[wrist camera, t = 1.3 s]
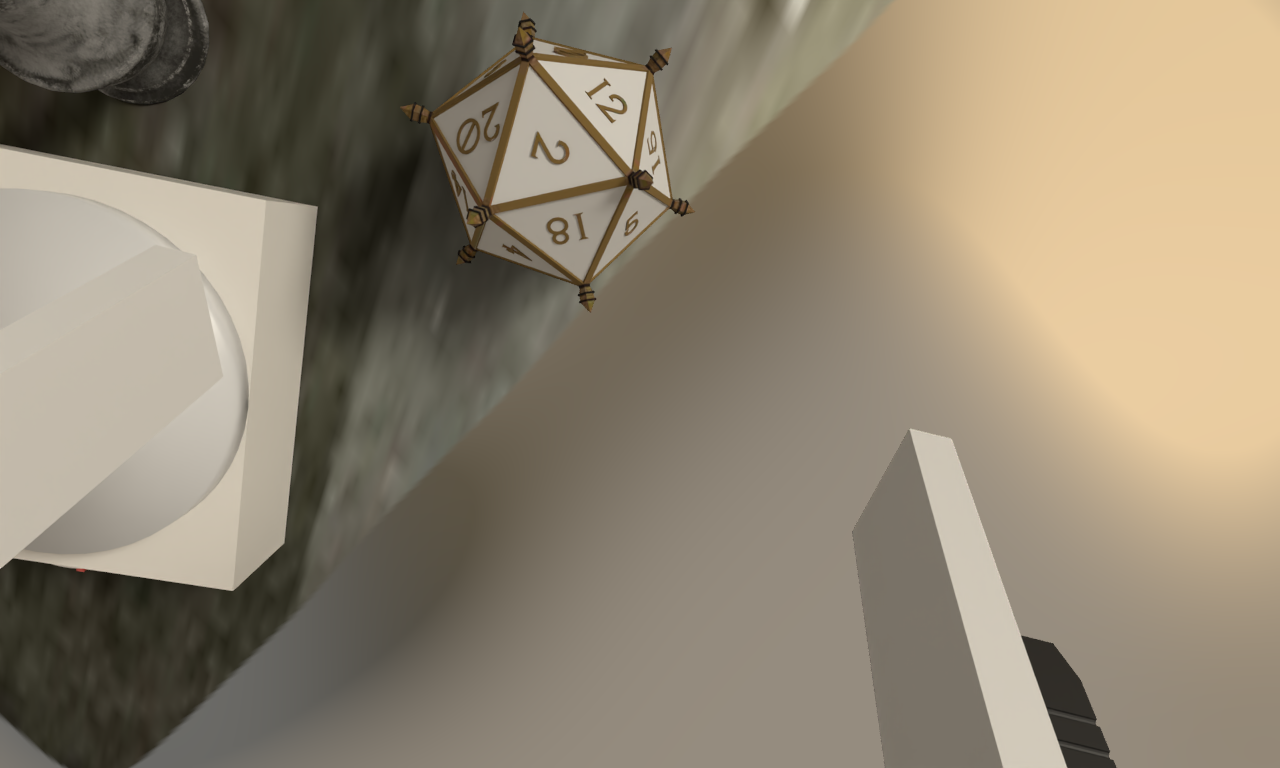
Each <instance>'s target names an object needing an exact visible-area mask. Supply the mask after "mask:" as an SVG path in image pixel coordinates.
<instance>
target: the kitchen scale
mask: <svg viewBox="0 0 1280 768" xmlns="http://www.w3.org/2000/svg"><path fill="white" fill-rule="evenodd" d="M317 209H318V207H317V206H312V205H307V204H302V203H297V202H292V201H287V200H282V199H277V198H271V197H266V196H261V195H256V194H251V193H246V192H241V191H236V190H231V189H226V188H221V187H216V186H211V185H206V184H200V183H195V182H190V181H185V180H180V179H175V178H170V177H165V176H160V175H155V174H150V173H145V172H140V171H135V170H130V169H124V168H119V167H114V166H109V165H104V164H99V163H94V162H89V161H84V160H79V159H74V158H69V157H64V156H59V155H53V154H48V153H43V152H38V151H33V150H28V149H23V148H18V147H13V146H8V145H3V144H0V330H1V329H3V328H5V327H7V326H9V325H10V324H12V323H14V322H16V321H18V320H19V319H21V318H23V317H25V316H27V315H29V314H30V313H32V312H34V311H36V310H38V309H40V308H41V307H43V306H45V305H47V304H49V303H50V302H52V301H54V300H56V299H58V298H60V297H61V296H63V295H65V294H67V293H69V292H70V291H72V290H74V289H76V288H78V287H80V286H81V285H83V284H85V283H87V282H89V281H91V280H92V279H94V278H96V277H98V276H100V275H101V274H103V273H105V272H107V271H109V270H111V269H112V268H114V267H116V266H118V265H120V264H121V263H123V262H125V261H127V260H129V259H131V258H132V257H134V256H136V255H138V254H140V253H142V252H143V251H145V250H147V249H149V248H151V247H152V246H154V245H158V246H162V247H166V248H170V249H174V250H179V251H183V252H187V253H191V254H195V255H196V256H197V260H198V265H199V269H200V274H201V278H202V283H203V287H204V292H205V296H206V301H207V305H208V310H209V314H210V319H211V323H212V328H213V332H214V337H215V341H216V346H217V350H218V355H219V359H220V364H221V368H222V373H223V378H221V379H220V380H219V381H218V382H217V383H216V384H214V385H213V386H212V387H211V388H210V389H209V390H207V391H206V392H205V393H204V394H203V395H202V396H200V397H199V398H198V399H197V400H196V401H195V402H193V403H192V404H191V405H190V406H189V407H188V408H187V409H185V410H184V411H183V412H182V413H181V414H180V415H178V416H177V417H176V418H175V419H174V420H173V421H171V422H170V423H169V424H168V425H167V426H166V427H164V428H163V429H162V430H161V431H160V432H159V433H157V434H156V435H155V436H154V437H153V438H152V439H150V440H149V441H148V442H147V443H146V444H145V445H144V446H142V447H141V448H140V449H139V450H138V451H137V452H135V453H134V454H133V455H132V456H131V457H130V458H128V459H127V460H126V461H125V462H124V463H123V464H121V465H120V466H119V467H118V468H117V469H116V470H114V471H113V472H112V473H111V474H110V475H109V476H108V477H106V478H105V479H104V480H103V481H102V482H101V483H99V484H98V485H97V486H96V487H95V488H94V489H92V490H91V491H90V492H89V493H88V494H87V495H85V496H84V497H83V498H82V499H81V500H80V501H78V502H77V503H76V504H75V505H74V506H73V507H72V508H70V509H69V510H68V511H67V512H66V513H65V514H63V515H62V516H61V517H60V518H59V519H58V520H56V521H55V522H54V523H53V524H52V525H51V526H49V527H48V528H47V529H46V530H45V531H44V532H42V533H41V534H40V535H39V536H38V537H37V538H35V539H34V540H33V541H32V542H31V543H30V544H29V545H27V546H26V547H25V548H24V549H23V550H22V551H20V552H19V553H18V554H17V555H16V556H15V557H13V558H15V559H22V560H29V561H36V562H42V563H49V564H53V565H57V566H61V567H66V568H77V570H76V571H81V572H84V571H86V570H87V569H89V570H96V571H103V572H110V573H116V574H123V575H130V576H136V577H143V578H150V579H157V580H163V581H170V582H177V583H183V584H190V585H197V586H204V587H210V588H217V589H224V590H231V591H233V590H234V589H235V588H237V587H238V586H239V585H240V584H241V583H242V582H243V581H244V580H245V579H246V578H247V577H248V576H249V575H251V574H252V573H253V572H254V571H255V570H256V569H257V568H258V567H259V566H260V565H261V564H262V563H263V562H264V561H266V560H267V559H268V558H269V557H270V556H271V555H272V554H273V553H274V552H275V551H276V550H277V549H278V548H279V547H281V546H282V545H283V544H284V541H285V530H286V520H287V510H288V500H289V490H290V480H291V470H292V460H293V450H294V440H295V430H296V420H297V410H298V400H299V390H300V380H301V370H302V360H303V349H304V339H305V329H306V319H307V309H308V299H309V289H310V279H311V269H312V259H313V249H314V239H315V229H316V219H317Z"/></svg>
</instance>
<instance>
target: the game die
mask: <svg viewBox="0 0 1280 768" xmlns="http://www.w3.org/2000/svg"><path fill="white" fill-rule="evenodd" d="M534 25H535V22H534V21H533V20H532V19H529V17H528V16H527V15H526V14H525V13H524V12H523V15H522V19H521V20H520V21H519V25H518V31H517V34H516V35H515V36H514V40H513V43H512V44H513V46H515V48H513V49H512V50H511V51H510V52H508V53H507V54H506V55H504V56H503V57H502V58H501V59H499V60H498V61H497V62H496V63H494V64H493V65H492V66H491V67H489V68H488V69H487V70H485V71H484V72H483V73H482V74H480V75H479V76H478V77H477V78H475V79H474V80H473V81H471V82H470V83H469V84H468V85H466V86H465V87H464V88H463V89H461V90H460V91H459V92H457V93H456V94H455V95H454V96H452V97H451V98H450V99H449V100H447V101H446V102H445V103H444V104H442V105H441V106H440V107H438V108H437V109H436V110H435V111H433V112H429V111H428V110H426V109H425V108H424V106H423V105H422V107H421V106H419V105H417V103H416V102H415V103H414V104H412V105H408V106H404V107H400V108H401V109H402V110H403V111H404V112H405V113H406V115H407V116H408V117H409V118H410V121H413V120H414V121H418V123H419V124H420V123H421V122H425V123H429V124H430V127H431V130H432V133H433V136H434V139H435V142H436V144H437V147H438V150H439V153H440V156H441V159H442V162H443V165H444V168H445V171H446V174H447V177H448V180H449V183H450V186H451V189H452V192H453V195H454V198H455V201H456V204H457V207H458V210H459V212H460V215H461V218H462V221H463V224H464V227H465V230H466V233H467V236H468V239H469V242H470V245H468V246H463V249H462V250H459V251H458V260H457V264H456V265H458V264H463V263H471V260H472V259H473V258H474V259H475V254H476V252H477V251H480V252H483V253H486V254H489V255H492V256H495V257H498V258H500V259H503V260H506V261H509V262H512V263H515V264H517V265H520V266H523V267H526V268H529V269H532V270H535V271H537V272H540V273H543V274H546V275H549V276H552V277H554V278H557V279H560V280H563V281H566V282H569V283H571V284H574V285H577V286H579V288H580V292H579V294H578V296H580V301H579V303H581V304H582V305H583V306H584V307H585V308H586V309H587V310H588V311H589V312H591V310H592V307H593V304H594V301H595V300H596V298H594V295H593V293H594V291H592V289H591V288H590V283H591V282H592V281H593V280H594V279H595V278H596V277H597V276H598V275H599V274H600V273H601V272H602V271H603V270H604V269H605V268H606V267H608V266H609V265H610V264H611V263H612V262H613V261H614V260H615V259H616V258H617V257H618V256H619V255H620V254H621V253H622V252H623V251H624V250H626V249H627V248H628V247H629V246H630V245H631V244H632V243H633V242H634V241H635V240H636V239H637V238H638V237H639V236H640V235H641V234H643V233H644V232H645V231H646V230H647V229H648V228H649V227H650V226H651V225H652V224H653V223H654V222H655V221H656V220H657V219H658V218H659V217H661V216H662V215H663V214H664V213H665V212H666V211H667V210H668V209H672V210H673V211H674V212H675V213H674V214H677V213H678V214H681V216H683V215H685V214H689V213H693V212H695V211H694V210H693V209H692V208H691V207H690V205H689V203H688V201H687V200H685V201H682V200H681V199H680V198H679V200H674V199H673V198H672V192H671V186H670V180H669V173H668V167H667V160H666V154H665V148H664V141H663V135H662V129H661V122H660V116H659V109H658V103H657V97H656V90H655V84H654V77H653V75H654V73H655V72H657V71H658V70H661V71H662V70H663V69H662V68H663V67H664V66H665V65H668V60H669V56H670V53H671V49H672V48H668V49H663V50H657V49H656V50H655V51H656V53H655V54H654V55H653V56H650V60H649V62H648V64H647V65H641V64H637V63H633V62H629V61H625V60H621V59H617V58H613V57H609V56H605V55H601V54H597V53H593V52H589V51H585V50H581V49H577V48H574V47H570V46H566V45H562V44H558V43H554V42H550V41H546V40H542V39H538V38H535V32H537V31H536V29H535V28H534Z"/></svg>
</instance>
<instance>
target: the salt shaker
mask: <svg viewBox="0 0 1280 768" xmlns="http://www.w3.org/2000/svg"><path fill="white" fill-rule="evenodd" d="M208 48H209V27H208V21H207V17H206V14H205V10H204V7H203V3H202V2H201V0H0V65H1V66H2V67H4V68H5V69H7V70H8V71H10V72H11V73H13V74H14V75H16V76H18V77H19V78H21V79H22V80H24V81H26V82H29V83H31V84H34V85H37V86H40V87H43V88H45V89H48V90H51V91H59V92H70V93H82V92H88V91H93V90H99V91H101V92H102V93H104V94H105V95H107V96H110V97H113V98H116V99H118V100H121V101H124V102H127V103H136V104H146V105H149V104H154V103H160V102H165V101H168V100H170V99H172V98H174V97H176V96H178V95H180V94H182V93H183V92H184V91H185V90H186V89H187V88H188V87H189V86H190V85H191V84H192V83H193V82H194V81H195V80H196V79H197V77H198V75H199V73H200V72H201V70H202V68H203V66H204V64H205V61H206V56H207V52H208Z"/></svg>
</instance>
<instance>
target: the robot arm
mask: <svg viewBox="0 0 1280 768" xmlns="http://www.w3.org/2000/svg"><path fill="white" fill-rule="evenodd" d="M221 378H223V373H222V368H221V364H220V359H219V355H218V350H217V346H216V341H215V337H214V332H213V328H212V323H211V319H210V314H209V310H208V305H207V301H206V296H205V292H204V287H203V283H202V278H201V274H200V269H199V265H198V260H197V256H196V255H195V254H191V253H187V252H183V251H179V250H174V249H170V248H166V247H162V246H158V245H154V246H152V247H151V248H149V249H147V250H145V251H143V252H142V253H140V254H138V255H136V256H134V257H132V258H131V259H129V260H127V261H125V262H123V263H121V264H120V265H118V266H116V267H114V268H112V269H111V270H109V271H107V272H105V273H103V274H101V275H100V276H98V277H96V278H94V279H92V280H91V281H89V282H87V283H85V284H83V285H81V286H80V287H78V288H76V289H74V290H72V291H70V292H69V293H67V294H65V295H63V296H61V297H60V298H58V299H56V300H54V301H52V302H50V303H49V304H47V305H45V306H43V307H41V308H40V309H38V310H36V311H34V312H32V313H30V314H29V315H27V316H25V317H23V318H21V319H19V320H18V321H16V322H14V323H12V324H10V325H9V326H7V327H5V328H3V329H1V330H0V569H1V568H2V567H3V566H4V565H5V564H6V563H8V562H9V561H10V560H11V559H12V558H13V557H15V556H16V555H17V554H18V553H19V552H20V551H22V550H23V549H24V548H25V547H26V546H27V545H29V544H30V543H31V542H32V541H33V540H34V539H35V538H37V537H38V536H39V535H40V534H41V533H42V532H44V531H45V530H46V529H47V528H48V527H49V526H51V525H52V524H53V523H54V522H55V521H56V520H58V519H59V518H60V517H61V516H62V515H63V514H65V513H66V512H67V511H68V510H69V509H70V508H72V507H73V506H74V505H75V504H76V503H77V502H78V501H80V500H81V499H82V498H83V497H84V496H85V495H87V494H88V493H89V492H90V491H91V490H92V489H94V488H95V487H96V486H97V485H98V484H99V483H101V482H102V481H103V480H104V479H105V478H106V477H108V476H109V475H110V474H111V473H112V472H113V471H114V470H116V469H117V468H118V467H119V466H120V465H121V464H123V463H124V462H125V461H126V460H127V459H128V458H130V457H131V456H132V455H133V454H134V453H135V452H137V451H138V450H139V449H140V448H141V447H142V446H144V445H145V444H146V443H147V442H148V441H149V440H150V439H152V438H153V437H154V436H155V435H156V434H157V433H159V432H160V431H161V430H162V429H163V428H164V427H166V426H167V425H168V424H169V423H170V422H171V421H173V420H174V419H175V418H176V417H177V416H178V415H180V414H181V413H182V412H183V411H184V410H185V409H187V408H188V407H189V406H190V405H191V404H192V403H193V402H195V401H196V400H197V399H198V398H199V397H200V396H202V395H203V394H204V393H205V392H206V391H207V390H209V389H210V388H211V387H212V386H213V385H214V384H216V383H217V382H218V381H219V380H220V379H221ZM852 534H853V541H854V548H855V555H856V562H857V570H858V577H859V584H860V591H861V598H862V606H863V613H864V620H865V627H866V634H867V642H868V649H869V656H870V663H871V671H872V678H873V685H874V692H875V699H876V707H877V713H878V721H879V728H880V736H881V742H882V750H883V757H884V764H885V768H1116V765H1115V763H1114V761H1113V760H1111V759H1110V758H1109V752H1110V751H1109V748H1108V746H1107V743H1106V741H1105V738H1104V736H1103V733H1102V731H1101V729H1100V727H1098V726H1096V716H1095V714H1094V711H1093V709H1092V707H1091V704H1090V702H1089V699H1088V697H1087V694H1086V692H1085V689H1084V687H1083V685H1082V682H1081V680H1080V679H1079V677H1078V676H1077V675H1076V673H1075V672H1074V671H1073V669H1072V668H1071V667H1070V666H1069V664H1068V663H1067V662H1066V660H1065V659H1064V658H1063V656H1062V655H1061V654H1060V652H1059V651H1058V649H1057V648H1056V647H1055V646H1054V644H1053V643H1049V642H1045V641H1041V640H1037V639H1033V638H1029V637H1025V636H1021V635H1020V632H1019V629H1018V626H1017V623H1016V621H1015V618H1014V615H1013V612H1012V609H1011V607H1010V604H1009V601H1008V598H1007V595H1006V592H1005V589H1004V586H1003V584H1002V581H1001V578H1000V575H999V572H998V569H997V567H996V564H995V561H994V558H993V555H992V552H991V549H990V546H989V544H988V541H987V538H986V535H985V532H984V530H983V527H982V524H981V521H980V518H979V515H978V512H977V509H976V507H975V504H974V501H973V498H972V495H971V492H970V490H969V487H968V484H967V481H966V478H965V475H964V473H963V470H962V467H961V464H960V461H959V458H958V455H957V452H956V450H955V447H954V444H953V441H952V439H951V438H947V437H942V436H938V435H934V434H930V433H926V432H922V431H918V430H914V429H909V430H908V432H907V434H906V435H905V437H904V439H903V441H902V443H901V444H900V446H899V448H898V450H897V452H896V453H895V455H894V457H893V459H892V461H891V462H890V464H889V466H888V468H887V470H886V471H885V473H884V475H883V477H882V479H881V481H880V482H879V484H878V486H877V488H876V489H875V491H874V493H873V495H872V497H871V498H870V500H869V502H868V504H867V506H866V507H865V509H864V511H863V513H862V515H861V516H860V518H859V520H858V522H857V524H856V525H855V527H854V529H853V531H852Z"/></svg>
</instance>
